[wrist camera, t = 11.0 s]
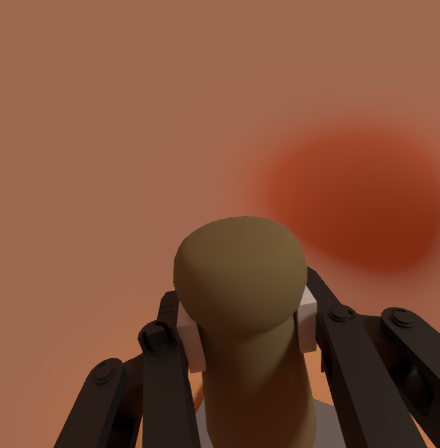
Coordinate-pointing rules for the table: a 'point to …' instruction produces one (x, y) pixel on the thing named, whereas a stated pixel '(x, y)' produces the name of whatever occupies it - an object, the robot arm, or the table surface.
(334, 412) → the slate board
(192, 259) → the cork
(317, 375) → the table surface
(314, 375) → the table surface
